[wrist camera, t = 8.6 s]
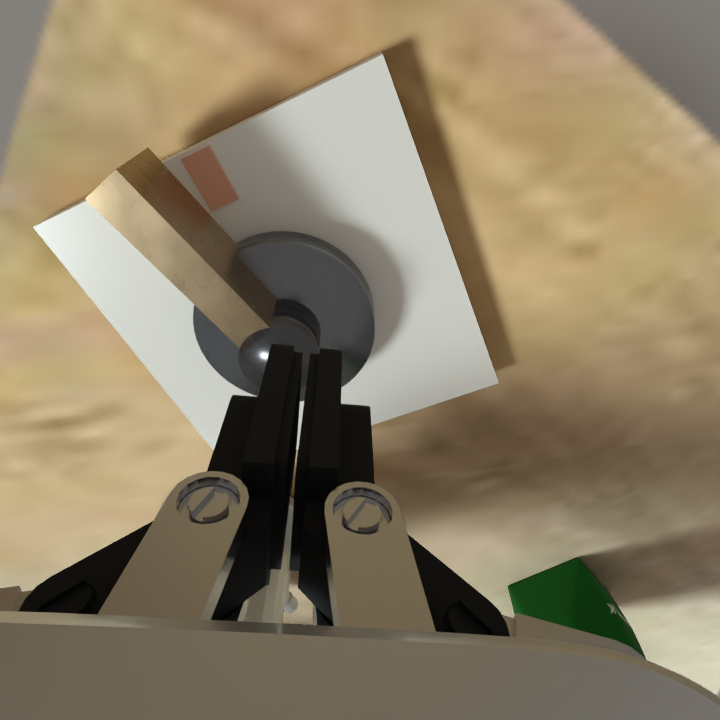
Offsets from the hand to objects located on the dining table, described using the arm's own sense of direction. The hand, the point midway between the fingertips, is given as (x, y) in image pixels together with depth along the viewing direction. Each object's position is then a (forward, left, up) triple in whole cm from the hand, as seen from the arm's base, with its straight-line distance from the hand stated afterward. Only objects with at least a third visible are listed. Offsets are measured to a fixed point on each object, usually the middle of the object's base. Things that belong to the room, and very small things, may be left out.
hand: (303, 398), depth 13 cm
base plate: (-5, +5, -19) cm, 20 cm away
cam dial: (-3, +6, -17) cm, 18 cm away
